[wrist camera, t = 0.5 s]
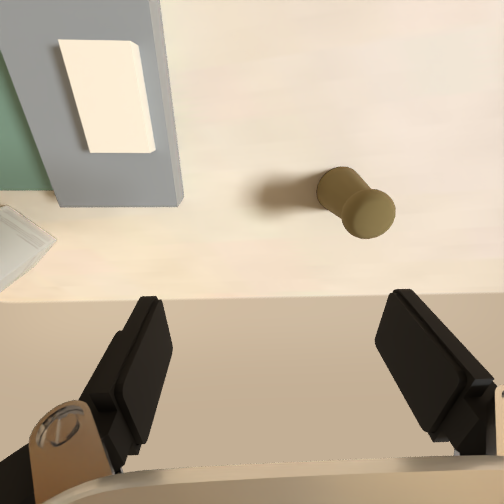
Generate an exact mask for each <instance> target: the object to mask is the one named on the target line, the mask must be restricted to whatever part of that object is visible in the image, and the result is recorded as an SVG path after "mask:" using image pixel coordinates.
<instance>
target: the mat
mask: <svg viewBox="0 0 504 504" xmlns="http://www.w3.org/2000/svg"><path fill="white" fill-rule="evenodd" d="M0 190H53V188H52V185H51V182H50V180H49V177H48V174H47V172H46V169H45V166H44V164H43V161H42V159H41V156H40V153H39V151H38V148H37V145H36V143H35V140H34V137H33V135H32V132H31V129H30V127H29V124H28V122H27V119H26V116H25V114H24V111H23V108H22V106H21V103H20V100H19V98H18V95H17V92H16V90H15V87H14V84H13V82H12V79H11V77H10V74H9V71H8V69H7V66H6V63H5V61H4V58H3V55H2V53H1V50H0Z"/></svg>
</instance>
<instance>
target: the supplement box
mask: <svg viewBox="0 0 504 504" xmlns="http://www.w3.org/2000/svg"><path fill="white" fill-rule="evenodd" d="M56 241H57V239H55V238H54V237H53V236H51V235H50V234H48V233H47V232H46V231H44V230H43V229H41V228H40V227H39V226H37V225H36V224H34V223H33V222H31V221H30V220H29V219H27V218H26V217H24V216H23V215H21V214H20V213H18V212H17V211H16V210H14V209H13V208H11V207H10V206H8V205H5V206H3V207H0V292H2V291H3V290H4V289H6V288H7V287H8V286H9V285H11V284H12V283H13V282H15V281H16V280H17V279H18V278H20V277H21V276H22V275H24V274H25V273H26V272H28V271H29V270H30V269H32V268H33V267H34V266H35V265H36V264H37V263H38V262H39V261H40V259H41V258H42V257H43V256H44V255H45V254H46V252H47V251H48V250H49V249H50V248H51V247H52V245H53V244H54V243H55V242H56Z"/></svg>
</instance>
